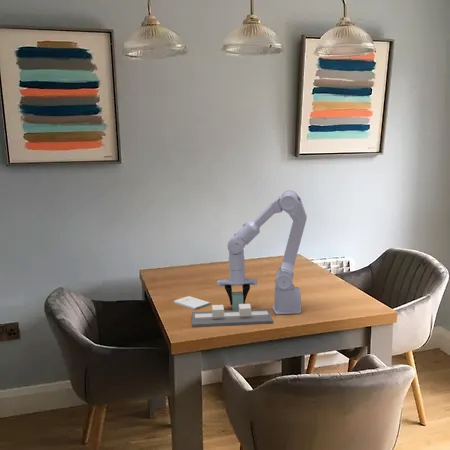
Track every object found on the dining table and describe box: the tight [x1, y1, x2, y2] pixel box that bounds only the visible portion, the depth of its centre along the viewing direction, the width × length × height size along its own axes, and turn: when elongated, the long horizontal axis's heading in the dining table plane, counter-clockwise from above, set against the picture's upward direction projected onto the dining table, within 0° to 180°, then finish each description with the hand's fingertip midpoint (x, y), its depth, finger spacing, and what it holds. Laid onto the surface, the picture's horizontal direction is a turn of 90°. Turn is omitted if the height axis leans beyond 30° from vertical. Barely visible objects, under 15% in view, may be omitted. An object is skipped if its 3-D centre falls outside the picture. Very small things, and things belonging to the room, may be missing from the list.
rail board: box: [191, 303, 274, 328], centre depth 190 cm, size 28×12×5 cm, turn 94°
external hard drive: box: [173, 295, 212, 311], centre depth 208 cm, size 2×8×12 cm
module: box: [231, 290, 243, 310], centre depth 200 cm, size 4×5×6 cm
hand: (237, 303), depth 200 cm, fingers closed on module, 4 cm apart
